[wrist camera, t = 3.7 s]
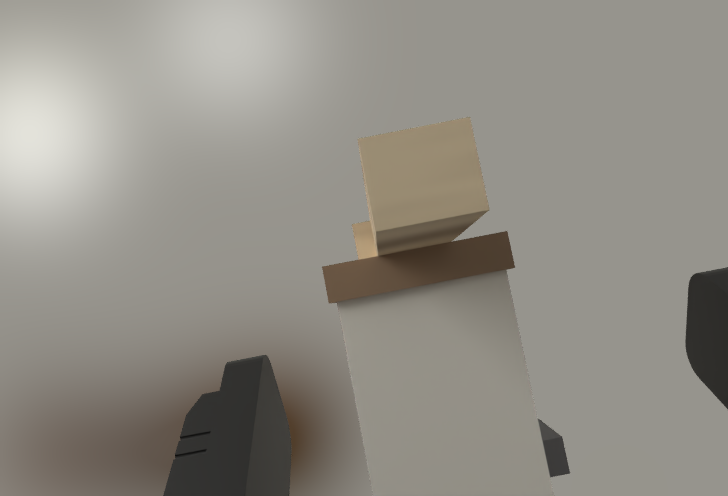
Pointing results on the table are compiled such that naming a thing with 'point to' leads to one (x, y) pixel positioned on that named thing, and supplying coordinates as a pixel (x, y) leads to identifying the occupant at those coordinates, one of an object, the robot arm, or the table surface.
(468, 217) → the tan wooden plank
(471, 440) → the white tall carton
